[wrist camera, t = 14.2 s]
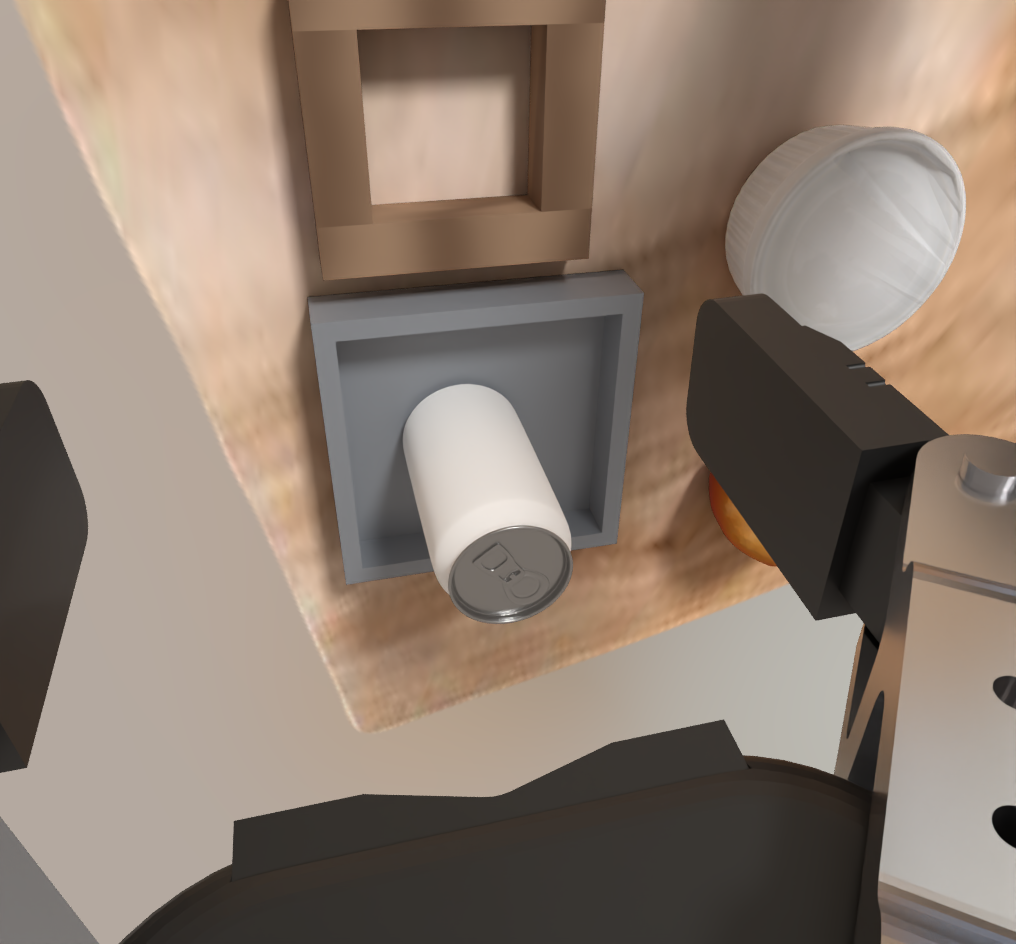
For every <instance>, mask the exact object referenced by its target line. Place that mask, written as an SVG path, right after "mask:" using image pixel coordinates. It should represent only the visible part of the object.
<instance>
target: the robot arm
mask: <svg viewBox="0 0 1016 944" xmlns="http://www.w3.org/2000/svg"><path fill="white" fill-rule="evenodd" d="M686 415H687V425H688V431H689V435H690V438H691V441H692V444H693V446H694V448H695V450H696V452H697V453H698V455H699V456H700V457H701V459H702V460H703V462H704V463H705V465H706V466H707V467H708V469H709V470H710V472H711V473H712V474H713V476H714V477H715V479H716V480H717V482H718V483H719V484H720V486H721V487H722V489H723V490H724V491H725V493H726V494H727V496H728V497H729V499H730V500H731V501H732V503H733V504H734V506H735V507H736V508H737V510H738V511H739V513H740V514H741V516H742V517H743V518H744V520H745V521H746V523H747V524H748V525H749V527H750V528H751V530H752V531H753V533H754V534H755V535H756V537H757V538H758V540H759V541H760V542H761V544H762V545H763V547H764V548H765V550H766V551H767V552H768V554H769V555H770V557H771V558H772V559H773V561H774V562H775V564H776V565H777V567H778V568H779V569H780V571H781V572H782V574H783V575H784V576H785V578H786V579H787V581H788V582H789V584H790V585H791V586H792V588H793V589H794V591H795V592H796V593H797V595H798V596H799V598H800V599H801V601H802V602H803V603H804V605H805V606H806V608H807V609H808V610H809V612H810V613H811V615H812V616H813V618H814V619H815V620H822V619H826V618H832V617H837V616H842V615H847V614H853V613H857V615H858V616H859V617H860V618H861V620H862V621H863V623H864V624H863V627H862V630H861V633H860V636H859V639H858V643H857V646H856V652H855V657H854V663H853V669H852V675H851V681H850V686H849V692H848V698H847V703H846V709H845V715H844V721H843V727H842V732H841V738H840V744H839V750H838V755H837V761H836V766H835V770H834V775H833V774H830V773H827V772H824V771H821V770H819V769H816V768H813V767H809V766H805V765H801V764H797V763H793V762H788V761H785V760H779V759H772V758H765V757H758V756H743V755H742V753H741V751H740V750H739V748H738V746H737V744H736V742H735V740H734V738H733V736H732V734H731V732H730V730H729V729H728V727H727V725H726V723H725V721H724V720H719V721H715V722H710V723H705V724H700V725H695V726H690V727H686V728H681V729H676V730H671V731H666V732H661V733H657V734H652V735H647V736H642V737H637V738H632V739H628V740H623V741H618V742H613V743H610V744H608V745H606V746H604V747H602V748H600V749H598V750H596V751H594V752H592V753H590V754H588V755H586V756H583V757H581V758H580V759H577V760H575V761H573V762H571V763H569V764H567V765H565V766H563V767H561V768H558V769H556V770H554V771H552V772H550V773H548V774H546V775H544V776H542V777H540V778H538V779H536V780H533V781H531V782H529V783H527V784H525V785H523V786H521V787H519V788H517V789H515V790H513V791H511V792H508V793H505V794H503V795H499V796H494V797H453V796H412V795H372V794H371V795H369V794H362V795H357V796H353V797H348V798H343V799H339V800H333V801H328V802H324V803H319V804H314V805H309V806H304V807H299V808H295V809H290V810H285V811H280V812H275V813H270V814H266V815H261V816H256V817H251V818H247V819H242V820H237V821H234V834H233V860H232V864H231V865H229V866H227V867H225V868H222V869H220V870H218V871H216V872H214V873H212V874H210V875H209V876H207V877H205V878H204V879H202V880H200V881H199V882H197V883H195V884H194V885H192V886H190V887H189V888H187V889H185V890H184V891H182V892H181V893H179V894H178V895H176V896H175V897H174V898H172V899H171V900H170V901H168V902H167V903H166V904H164V905H163V906H162V907H161V908H159V909H157V910H156V911H155V912H153V913H152V914H151V915H150V916H149V917H148V918H146V919H145V920H144V921H143V922H142V923H141V924H140V925H139V926H137V927H136V928H135V929H134V930H133V931H132V932H131V933H130V934H128V935H127V936H126V937H125V938H124V939H123V940H122V941H121V942H120V943H119V944H1016V443H1012V442H1009V441H1006V440H1002V439H998V438H994V437H988V436H982V435H970V434H961V435H948V434H947V433H946V432H945V431H944V430H942V429H941V428H940V427H939V426H938V425H937V424H936V423H934V422H933V421H932V420H931V419H930V418H929V417H927V416H926V415H925V414H924V413H923V412H922V411H921V410H919V409H918V408H917V407H916V406H915V405H914V404H912V403H911V402H910V401H909V400H908V399H907V398H906V397H904V396H903V395H902V394H901V393H900V392H899V391H897V390H896V389H895V388H894V387H893V386H892V385H890V384H889V385H886V384H885V379H884V378H882V377H881V376H880V375H879V374H878V373H877V372H875V371H874V370H873V369H872V368H871V367H865V362H864V361H863V360H862V359H860V358H859V357H858V356H857V355H856V354H855V353H853V352H852V351H851V350H850V349H849V348H848V347H847V346H845V345H844V344H843V343H842V342H841V341H838V340H836V339H834V338H832V337H830V336H827V335H825V334H823V333H821V332H819V331H816V330H814V329H812V328H810V327H808V326H806V325H804V326H801V325H800V324H799V323H798V322H797V321H796V320H795V319H794V318H793V317H791V316H790V315H789V314H788V313H787V312H786V311H785V310H784V309H783V308H781V307H780V306H779V305H778V304H777V303H776V302H775V301H774V300H773V299H771V298H770V297H769V296H768V295H766V294H763V293H760V294H751V295H743V296H735V297H726V298H718V299H710V300H707V301H705V302H704V303H703V304H702V306H701V308H700V310H699V313H698V316H697V322H696V331H695V339H694V347H693V356H692V364H691V372H690V381H689V389H688V397H687V407H686ZM87 535H88V519H87V510H86V505H85V500H84V497H83V493H82V490H81V487H80V485H79V482H78V480H77V477H76V475H75V472H74V469H73V467H72V464H71V462H70V459H69V457H68V454H67V452H66V449H65V447H64V445H63V442H62V439H61V437H60V434H59V432H58V429H57V427H56V425H55V422H54V419H53V417H52V414H51V412H50V409H49V407H48V404H47V402H46V399H45V397H44V395H43V393H42V392H41V390H40V389H39V387H38V386H37V385H36V384H35V383H34V382H32V381H30V380H27V381H18V382H10V383H2V384H0V773H1V772H7V771H12V770H18V769H22V768H27V765H28V762H29V758H30V754H31V750H32V746H33V743H34V739H35V735H36V731H37V727H38V723H39V719H40V716H41V712H42V708H43V705H44V701H45V697H46V693H47V690H48V686H49V682H50V678H51V675H52V671H53V667H54V663H55V659H56V656H57V652H58V648H59V644H60V640H61V637H62V633H63V629H64V626H65V622H66V618H67V614H68V610H69V606H70V603H71V599H72V595H73V591H74V588H75V583H76V580H77V576H78V573H79V569H80V565H81V561H82V557H83V554H84V550H85V546H86V541H87ZM0 944H99V943H98V942H97V940H96V939H95V938H94V937H93V935H92V934H91V933H90V931H89V930H88V929H87V928H86V926H85V925H84V924H83V922H82V921H81V920H80V919H79V917H78V916H77V915H76V913H75V912H74V911H73V910H72V908H71V907H70V906H69V904H68V903H67V902H66V901H65V899H64V898H63V897H62V895H61V894H60V893H59V892H58V891H57V889H56V888H55V886H54V885H53V884H52V883H51V881H50V880H49V879H48V877H47V876H46V875H45V874H44V872H43V871H42V870H41V868H40V867H39V866H38V865H37V863H36V862H35V861H34V859H33V858H32V857H31V856H30V854H29V853H28V852H27V850H26V849H25V848H24V847H23V845H22V844H21V843H20V841H19V840H18V839H17V837H16V836H15V835H14V834H13V832H12V831H11V830H10V828H9V827H8V826H7V825H6V823H5V822H4V821H3V819H1V817H0Z"/></svg>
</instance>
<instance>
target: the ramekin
mask: <svg viewBox="0 0 1016 944" xmlns="http://www.w3.org/2000/svg"><path fill="white" fill-rule="evenodd" d="M965 213H966V195H965V188H964V183H963V178H962V175H961V172H960V170H959V168H958V166H957V164H956V162H955V161H954V159H953V157H952V156H951V155H950V154H949V152H948V151H947V150H946V149H945V148H944V147H943V146H942V145H941V144H939V143H938V142H936V141H935V140H933V139H932V138H930V137H928V136H926V135H924V134H922V133H919V132H917V131H914V130H910V129H905V128H898V127H875V128H870V127H861V126H850V125H835V126H832V125H830V126H824V127H816V128H813V129H811V130H809V131H805V132H802V133H800V134H798V135H797V136H795V137H792V138H790V139H789V140H788V141H786V142H785V143H783V144H782V145H780V146H778V147H777V148H776V149H775V150H774V151H773V152H771V153H770V154H769V155H768V156H767V157H766V158H765V159H764V160H763V161H762V162H761V163H760V164H759V165H758V166H757V168H756V169H755V170H754V171H753V172H752V174H751V175H750V176H749V178H748V179H747V181H746V182H745V184H744V185H743V186H742V188H741V190H740V193H739V194H738V196H737V197H736V199H735V202H734V205H733V208H732V210H731V212H730V217H729V220H728V224H727V232H726V236H725V240H726V243H725V250H726V259H727V262H728V267H729V271H730V273H731V274H732V277H733V280H734V282H735V284H736V285H737V287H738V288H739V290H740V292H741V293H742V295H751V294H760V293H763V294H766V295H768V296H769V297H770V298H771V299H773V300H774V301H775V302H776V303H777V304H778V305H779V306H780V307H781V308H783V309H784V310H785V311H786V312H787V313H788V314H789V315H790V316H791V317H793V318H794V319H795V320H796V321H797V322H798V323H799V324H800V325H801V326H804V325H806V326H808V327H810V328H812V329H814V330H816V331H819V332H821V333H823V334H825V335H827V336H830V337H832V338H834V339H836V340H838V341H841V342H842V343H843V344H844V345H845V346H847V347H848V348H849V349H850V350H851V351H855V350H858V349H860V348H863V347H865V346H867V345H870V344H872V343H873V342H875V341H877V340H879V339H881V338H883V337H884V336H886V335H888V334H889V333H891V332H892V331H893V330H895V329H896V328H898V327H899V326H900V325H902V324H903V323H904V322H905V321H906V320H907V319H908V318H910V317H911V316H912V315H913V314H914V313H915V312H916V311H917V310H918V309H919V308H920V307H921V306H922V305H923V303H924V302H925V301H926V300H927V299H928V298H929V297H930V295H931V294H932V293H933V292H934V290H935V289H936V288H937V286H938V285H939V284H940V282H941V281H942V279H943V277H944V276H945V274H946V272H947V270H948V268H949V267H950V265H951V263H952V261H953V258H954V256H955V254H956V251H957V248H958V245H959V242H960V239H961V236H962V232H963V227H964V222H965Z"/></svg>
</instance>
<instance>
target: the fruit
mask: <svg viewBox="0 0 1016 944" xmlns="http://www.w3.org/2000/svg"><path fill="white" fill-rule="evenodd" d="M709 495H710V503H711V508H712V511H713V513H714V516H715V518H716V520H717V522H718V524H719V525H720V527H721V529H722V531H723V533H724V535H725V536H726V537H727V538H728V540H729V541H730V542H731V543H732V544H733V545H734V546H735V547H736V548H737V549H739V550H740V551H742V552H743V553H745V554H746V555H748V556H750V557H751V558H753V559H755V560H757V561H759V562H762V563H764V564H766V565H769V566H777V565H776V564H775V562H774V561H773V559H772V558H771V557H770V555H769V554H768V552H767V551H766V550H765V548H764V547H763V545H762V544H761V542H760V541H759V540H758V538H757V537H756V535H755V534H754V533H753V531H752V530H751V528H750V527H749V525H748V524H747V523H746V521H745V520H744V518H743V517H742V516H741V514H740V513H739V511H738V510H737V508H736V507H735V506H734V504H733V503H732V501H731V500H730V499H729V497H728V496H727V494H726V493H725V491H724V490H723V489H722V487H721V486H720V484H719V483H718V482H717V480H716V479H715V477H714V476H713V474H712V473H710V476H709Z"/></svg>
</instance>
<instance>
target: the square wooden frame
mask: <svg viewBox="0 0 1016 944" xmlns="http://www.w3.org/2000/svg"><path fill="white" fill-rule="evenodd" d="M605 4H606V0H288V5H289V13H290V21H291V29H292V37H293V45H294V53H295V61H296V70H297V78H298V86H299V94H300V102H301V110H302V118H303V126H304V134H305V142H306V150H307V159H308V167H309V175H310V183H311V191H312V199H313V207H314V215H315V223H316V231H317V239H318V247H319V256H320V263H321V269H322V275H323V281H325V280H337V279H349V278H361V277H373V276H385V275H397V274H409V273H421V272H433V271H445V270H457V269H469V268H481V267H493V266H505V265H517V264H529V263H541V262H553V261H565V260H577V259H589V244H590V229H591V214H592V199H593V184H594V169H595V154H596V139H597V124H598V109H599V94H600V79H601V64H602V49H603V34H604V19H605ZM509 25H531V61H530V105H529V149H528V194H527V195H515V196H500V197H486V198H471V199H456V200H441V201H426V202H411V203H396V204H382V205H371V196H370V184H369V172H368V160H367V148H366V136H365V124H364V113H363V101H362V89H361V77H360V65H359V53H358V41H357V30H365V29H401V28H437V27H473V26H509Z"/></svg>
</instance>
